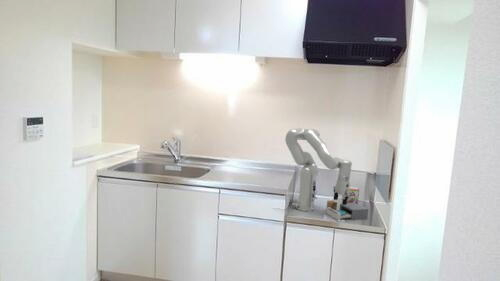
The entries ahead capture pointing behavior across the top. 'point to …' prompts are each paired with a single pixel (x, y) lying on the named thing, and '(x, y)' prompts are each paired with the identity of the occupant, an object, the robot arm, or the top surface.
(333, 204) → the block
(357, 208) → the grey low box
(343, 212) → the disc
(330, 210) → the tray
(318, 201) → the top surface
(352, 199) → the candy bar box
